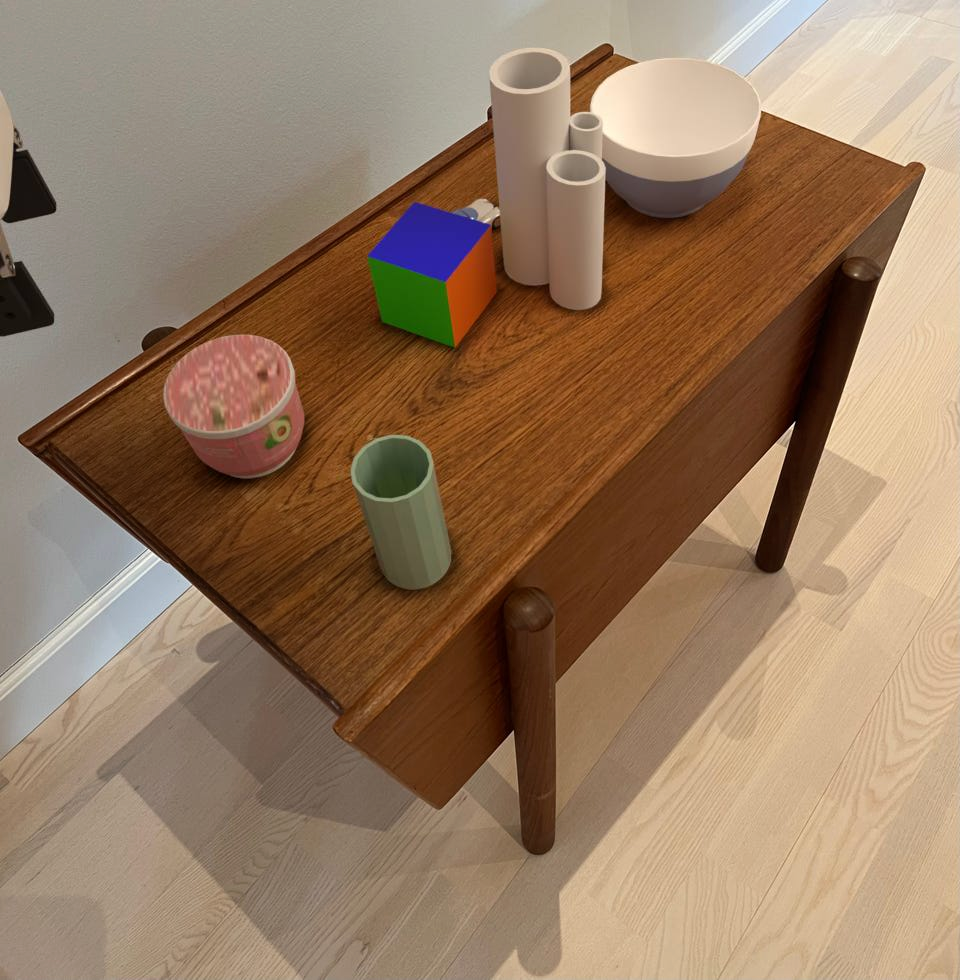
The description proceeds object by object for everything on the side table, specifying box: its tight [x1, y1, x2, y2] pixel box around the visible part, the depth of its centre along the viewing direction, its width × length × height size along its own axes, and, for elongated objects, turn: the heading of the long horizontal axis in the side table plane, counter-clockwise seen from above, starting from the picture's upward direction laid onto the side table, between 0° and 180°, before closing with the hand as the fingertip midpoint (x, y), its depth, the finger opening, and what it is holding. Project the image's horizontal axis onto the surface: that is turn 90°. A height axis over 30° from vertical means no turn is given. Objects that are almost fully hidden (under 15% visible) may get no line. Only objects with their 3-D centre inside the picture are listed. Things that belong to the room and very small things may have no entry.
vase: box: [488, 47, 606, 311], centre depth 83 cm, size 11×7×20 cm, turn 50°
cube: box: [366, 201, 498, 349], centre depth 86 cm, size 8×8×8 cm
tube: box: [349, 434, 452, 591], centre depth 69 cm, size 6×6×12 cm
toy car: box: [450, 197, 501, 230], centre depth 94 cm, size 4×12×3 cm, turn 126°
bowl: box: [589, 57, 762, 219], centre depth 93 cm, size 16×16×10 cm
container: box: [162, 334, 305, 479], centre depth 78 cm, size 10×10×8 cm
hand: (29, 268), depth 53 cm, fingers open, 9 cm apart
